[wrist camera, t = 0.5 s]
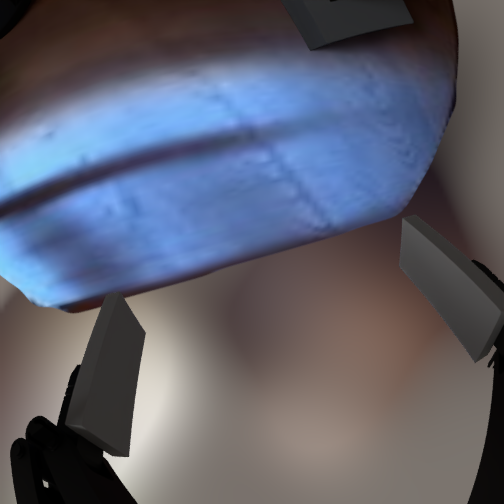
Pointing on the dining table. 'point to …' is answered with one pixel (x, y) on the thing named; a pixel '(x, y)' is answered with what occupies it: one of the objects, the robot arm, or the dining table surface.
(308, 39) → the block
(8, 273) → the dining table surface
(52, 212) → the dining table surface
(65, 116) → the dining table surface
